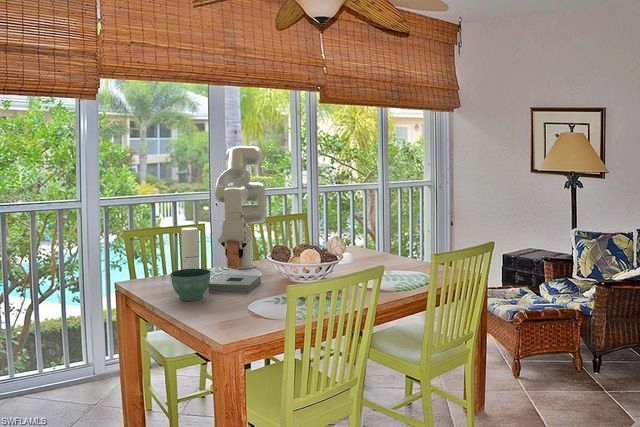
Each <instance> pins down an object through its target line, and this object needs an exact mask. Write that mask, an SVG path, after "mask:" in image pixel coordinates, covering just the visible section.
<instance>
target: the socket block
mask: <svg viewBox="0 0 640 427" xmlns="http://www.w3.org/2000/svg"><path fill="white" fill-rule="evenodd" d="M261 280H262V279H261V275H256V274H254V275H253V274H252V275H251V274H231V273H230V274H227V273H226V274H224V273H221V275H219V276H217V277H216V278H214V279H213V280H211V281H210V282H209V286H208V288H207V290H208V292H209V293H231V294H234V293H235V294H250V293H252V291H253V290H255V289H256V288H257V287H258V286H259V285H260V284H262V282H261Z"/></svg>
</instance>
